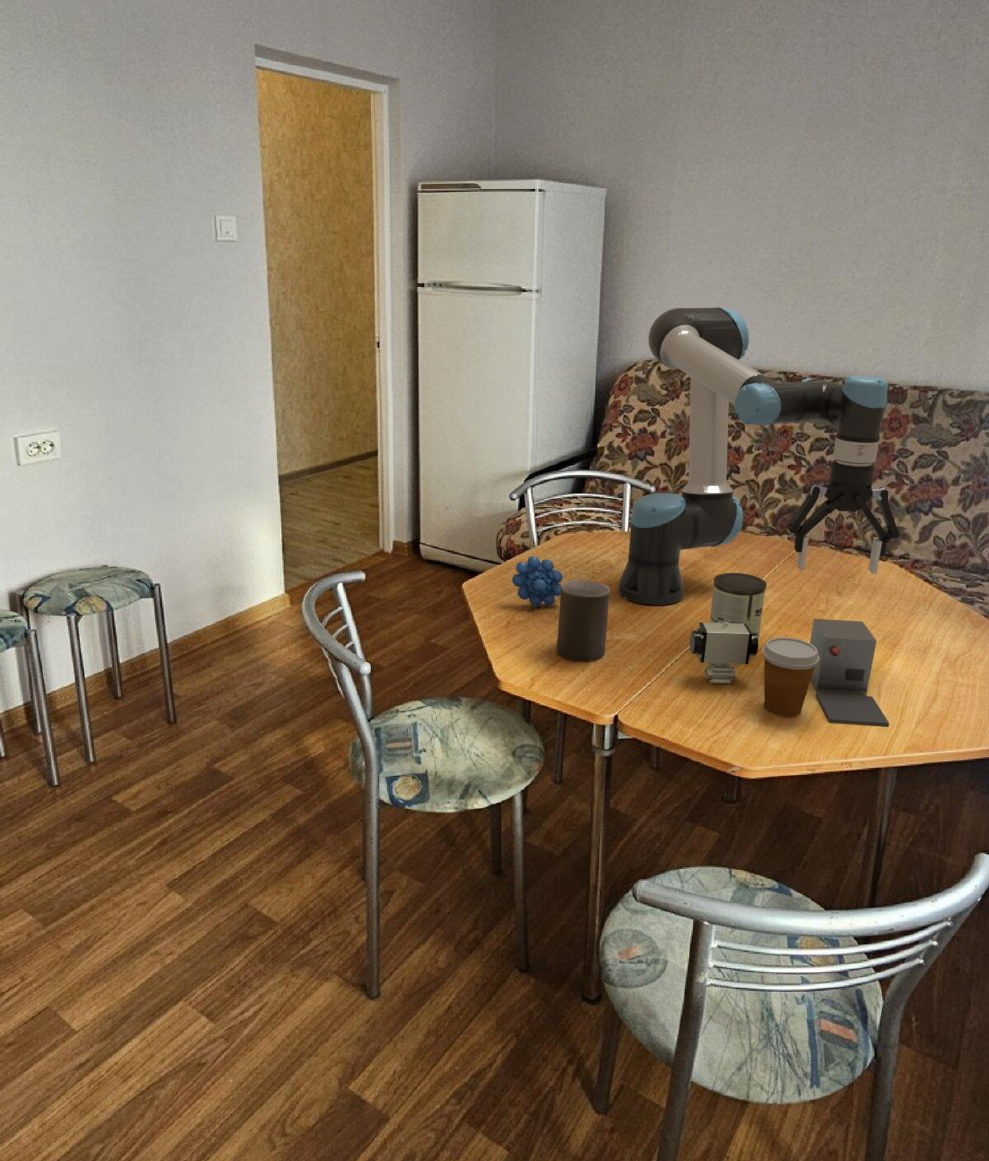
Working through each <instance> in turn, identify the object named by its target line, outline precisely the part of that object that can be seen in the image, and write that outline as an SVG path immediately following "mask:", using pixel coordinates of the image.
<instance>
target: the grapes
mask: <svg viewBox="0 0 989 1161" xmlns="http://www.w3.org/2000/svg"><path fill="white" fill-rule="evenodd" d="M554 568H555V566H554V563H553V562H552V561H551V560H550V559H547V558H546V559H543V560H540V559H539V557H538V556H534V555H531V556H529V557H528V558H527V560H526V562H524V561H519V562H517V564H516V566H515V570H516V572H517V573H515V574H513V575H512V579H511V580H512V581H511V582H512V584H513V585H514V586H515V587H517V588H518V589H517V592H516V593H517V596H518V597H519V598H520V599H521V600H528V601H529V604H531V606H533V607H540V606H541V605H542V603H543V604H545V605H547V606H552V605H553V604H555V601H556V598H555V597H559V596H561V586H562V584H560V583H561V582H562V581H563V578H564V577H563V573H561V571H560V570H558V569H554Z"/></svg>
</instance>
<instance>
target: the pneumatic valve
mask: <svg viewBox="0 0 989 1161" xmlns="http://www.w3.org/2000/svg"><path fill="white" fill-rule="evenodd" d="M698 623H699V624H698V627H696V630H691V631H690V636H689V650H690V653H691V654H692V655H696V656H697V658H698V660H699V663H700V664H708V665H706V666H705V667H704V677H705V679H708V680H709V682H708V683H710V684H712V685H731V683H732V681H733V680H735V679H736V669H735V667H734V666H731V665H749V664H750V663H749V662H750V660H751V659H752V657H756V656H757V654H758V652H759V641H758V636H757V634H756V633H754V632H751V630H750V629H749V627H748V625H747V624H733V623H729V622H724V623H720V622H717V623H710V622H698Z"/></svg>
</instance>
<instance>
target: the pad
mask: <svg viewBox="0 0 989 1161" xmlns="http://www.w3.org/2000/svg"><path fill="white" fill-rule="evenodd" d="M815 697H816V699H817V701H818V703H819V706H820V707H821V709H822V711H823V713H824V715H825V718H827V721H828V723H835V724H848V725H849V724H851V725H863V726H864V725H865V726H867V725H868V726H880V727H889V725H890V722H889V721H888V719H887V717H886V716H885V714H884V713H883V711H882V710H881V708H880V707H879V705H878V703H877V702H876V700H875V699H874V697H873V696H872V695H871V696H870V695H854V694H839V693H823V692H816V693H815Z"/></svg>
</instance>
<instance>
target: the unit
mask: <svg viewBox="0 0 989 1161" xmlns="http://www.w3.org/2000/svg"><path fill="white" fill-rule="evenodd" d="M809 643H810V644H812V645H813V646H815V647H816V648H817V651H818V655H819V661H818V663H817V665H816V666H815V668H814V671H813V674H812V678H811V681H810V684H812V687H813V689H814V690H815V692H816V693H829V694H844V695H859V696H868V695H867V694H868V688H869V684H870V683H869V682H870V678H871V674H872V673H871V672H872V669H873V668H872V667H873V663H874V657H875V651H876V645H877V639H876V638H875V636H874V635H873V633H871V631H870V629H869V628H868V626H866V624H865V623H864V622H863V621H862V620H861V621H857V620H843V619H826V618H813V622H812V627H811V633H810V641H809Z"/></svg>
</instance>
